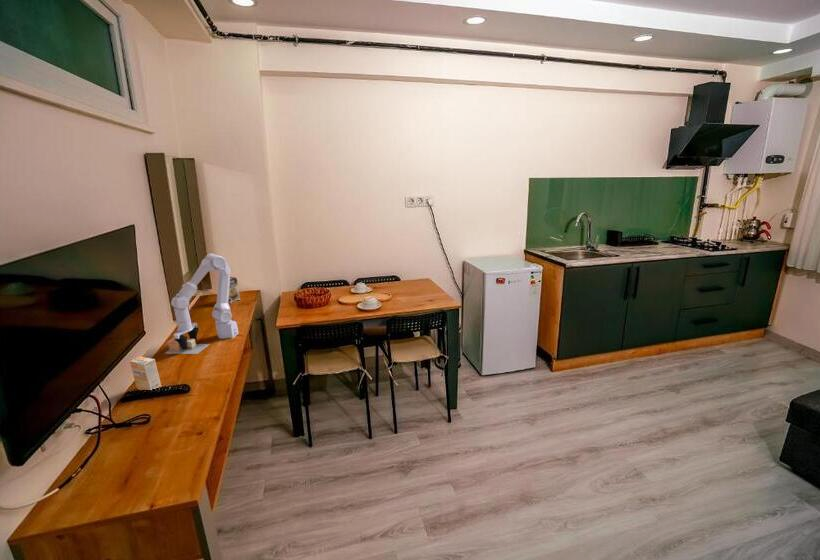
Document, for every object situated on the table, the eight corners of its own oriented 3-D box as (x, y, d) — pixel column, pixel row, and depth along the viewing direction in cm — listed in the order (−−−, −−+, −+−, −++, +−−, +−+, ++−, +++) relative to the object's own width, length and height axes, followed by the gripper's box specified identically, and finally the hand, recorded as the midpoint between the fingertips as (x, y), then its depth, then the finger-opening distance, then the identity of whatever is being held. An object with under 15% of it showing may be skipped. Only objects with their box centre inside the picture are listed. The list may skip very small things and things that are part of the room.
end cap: (187, 344, 187) (185, 336, 186) (179, 350, 181) (177, 342, 180) (177, 344, 187) (175, 336, 186) (168, 350, 182) (166, 342, 180)
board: (210, 345, 187) (210, 344, 187) (198, 355, 178) (197, 353, 178) (178, 345, 189) (178, 343, 188) (164, 354, 179) (164, 353, 179)
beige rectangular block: (196, 346, 185) (194, 339, 184) (192, 349, 182) (190, 341, 181) (181, 346, 186) (179, 338, 185) (177, 349, 183) (175, 341, 182)
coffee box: (228, 304, 244) (224, 281, 240) (222, 303, 248) (218, 280, 243) (240, 300, 252) (236, 277, 247) (234, 299, 255) (230, 276, 250)
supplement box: (136, 390, 150) (128, 361, 147) (148, 383, 155) (140, 355, 151) (151, 393, 148) (143, 364, 144) (162, 387, 152) (155, 358, 148)
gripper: (185, 314, 187) (191, 339, 191) (165, 326, 173) (171, 352, 177) (199, 314, 186) (204, 339, 190) (179, 326, 172) (185, 352, 176)
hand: (189, 345), depth 184 cm, fingers open, 6 cm apart
